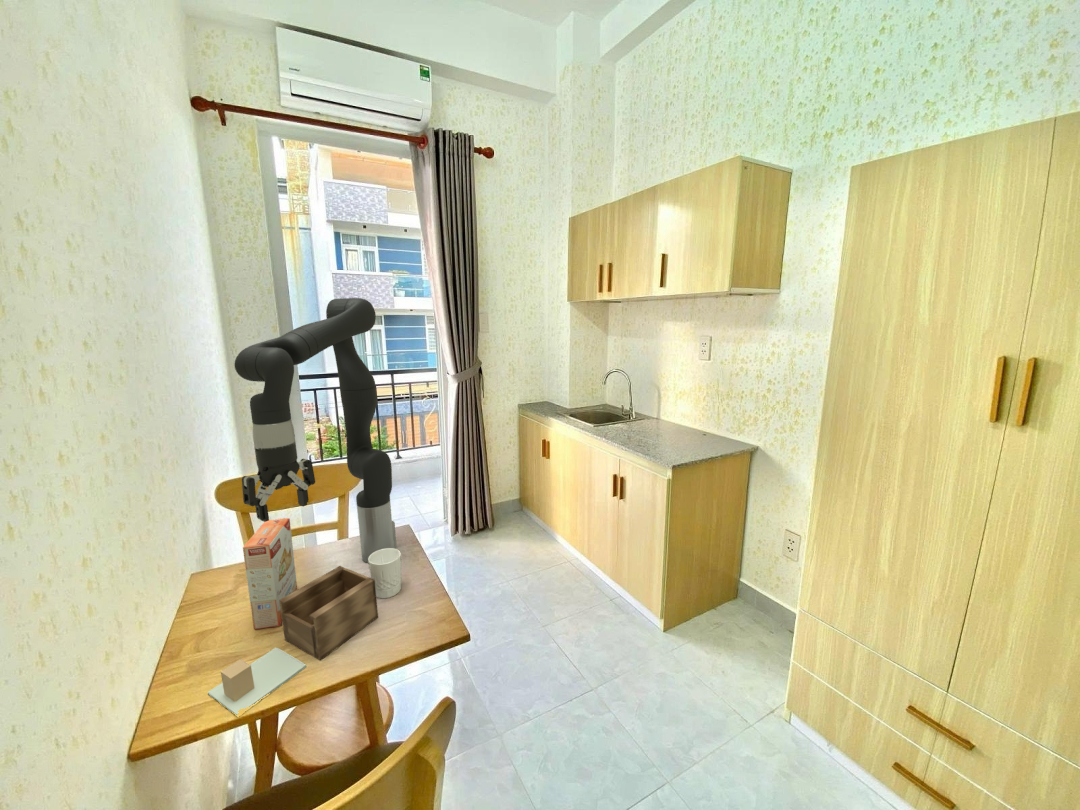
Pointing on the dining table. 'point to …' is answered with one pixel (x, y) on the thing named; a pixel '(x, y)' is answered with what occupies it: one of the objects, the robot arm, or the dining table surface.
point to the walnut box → (328, 611)
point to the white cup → (386, 571)
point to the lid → (254, 679)
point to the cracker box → (269, 571)
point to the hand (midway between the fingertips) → (284, 512)
